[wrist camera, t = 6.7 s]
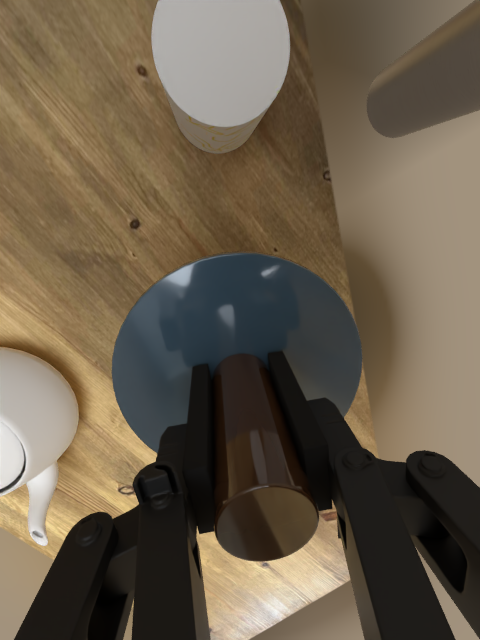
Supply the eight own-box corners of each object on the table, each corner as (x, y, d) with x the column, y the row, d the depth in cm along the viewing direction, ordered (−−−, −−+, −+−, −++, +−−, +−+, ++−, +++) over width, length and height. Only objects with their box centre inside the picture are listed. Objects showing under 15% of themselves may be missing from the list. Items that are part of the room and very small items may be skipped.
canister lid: (350, 229, 16) (523, 263, 7) (355, 439, 20) (465, 617, 12) (84, 272, 15) (-78, 366, 7) (151, 477, 20) (106, 691, 11)
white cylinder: (190, 164, 32) (181, 144, 21) (158, 68, 29) (128, -17, 18) (269, 138, 32) (303, 103, 20) (245, 39, 29) (269, -65, 18)
